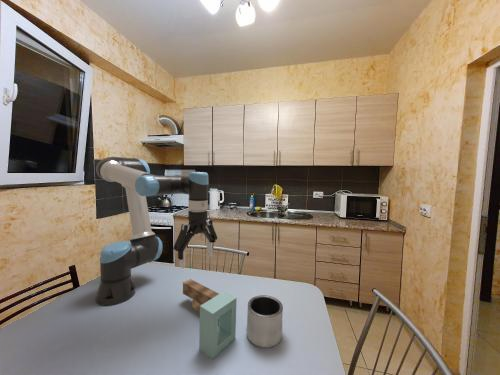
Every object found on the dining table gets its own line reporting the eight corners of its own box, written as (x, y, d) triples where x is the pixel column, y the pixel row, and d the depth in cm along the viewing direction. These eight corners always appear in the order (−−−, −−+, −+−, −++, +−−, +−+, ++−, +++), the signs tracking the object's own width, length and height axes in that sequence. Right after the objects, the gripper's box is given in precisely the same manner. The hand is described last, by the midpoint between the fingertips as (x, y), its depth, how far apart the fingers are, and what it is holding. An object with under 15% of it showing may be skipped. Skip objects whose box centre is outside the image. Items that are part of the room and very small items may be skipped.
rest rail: (192, 307, 90) (192, 298, 89) (197, 304, 92) (197, 295, 92) (212, 319, 82) (212, 309, 82) (217, 315, 85) (217, 306, 84)
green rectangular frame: (199, 348, 69) (199, 305, 68) (222, 329, 77) (223, 291, 76) (211, 359, 65) (212, 313, 64) (235, 337, 74) (236, 297, 73)
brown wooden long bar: (182, 293, 93) (182, 282, 92) (190, 289, 96) (190, 278, 95) (218, 315, 79) (218, 302, 79) (225, 309, 83) (226, 297, 82)
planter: (272, 356, 67) (273, 322, 66) (239, 338, 74) (240, 307, 73) (287, 331, 78) (288, 302, 77) (257, 318, 84) (258, 291, 83)
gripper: (175, 216, 73) (174, 275, 75) (226, 208, 93) (224, 255, 94) (164, 212, 78) (163, 268, 79) (214, 206, 97) (213, 250, 99)
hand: (196, 261), depth 87 cm, fingers open, 13 cm apart
